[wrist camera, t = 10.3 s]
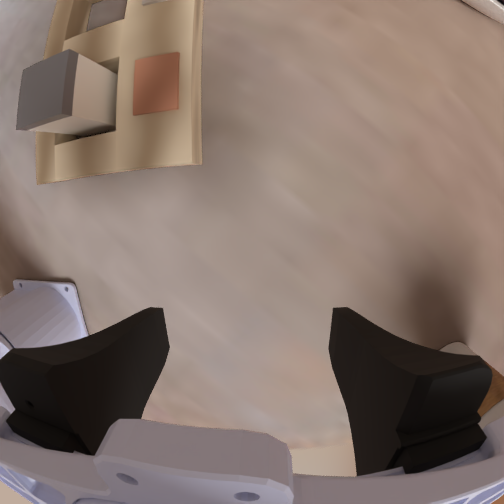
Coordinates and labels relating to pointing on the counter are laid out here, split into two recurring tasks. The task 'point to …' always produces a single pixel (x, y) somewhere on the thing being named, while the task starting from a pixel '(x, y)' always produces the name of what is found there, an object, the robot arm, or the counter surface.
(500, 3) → the bowl
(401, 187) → the counter surface
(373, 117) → the counter surface
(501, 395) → the coffee cup
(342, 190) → the counter surface
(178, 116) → the socket block
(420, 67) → the counter surface
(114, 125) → the plug
